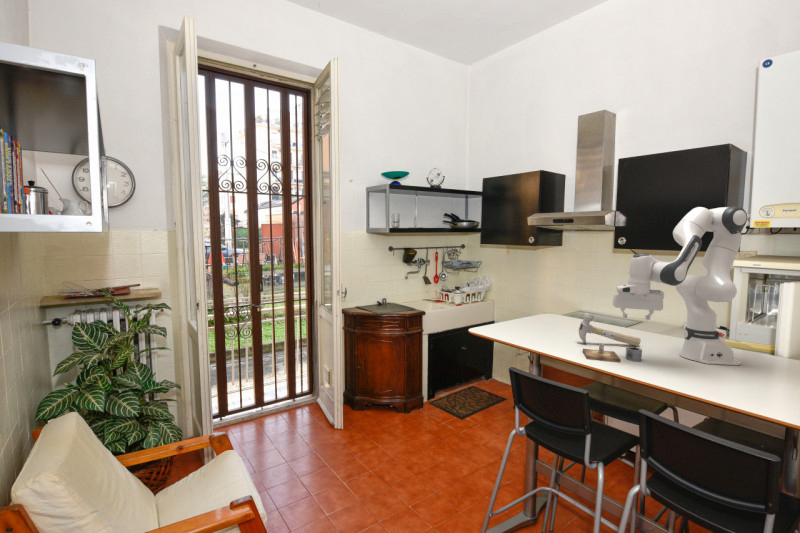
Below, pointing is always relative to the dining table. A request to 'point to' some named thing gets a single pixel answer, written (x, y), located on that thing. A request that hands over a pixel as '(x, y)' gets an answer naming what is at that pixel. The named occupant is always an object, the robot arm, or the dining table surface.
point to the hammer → (604, 332)
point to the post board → (601, 354)
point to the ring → (633, 354)
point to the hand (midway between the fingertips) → (636, 318)
